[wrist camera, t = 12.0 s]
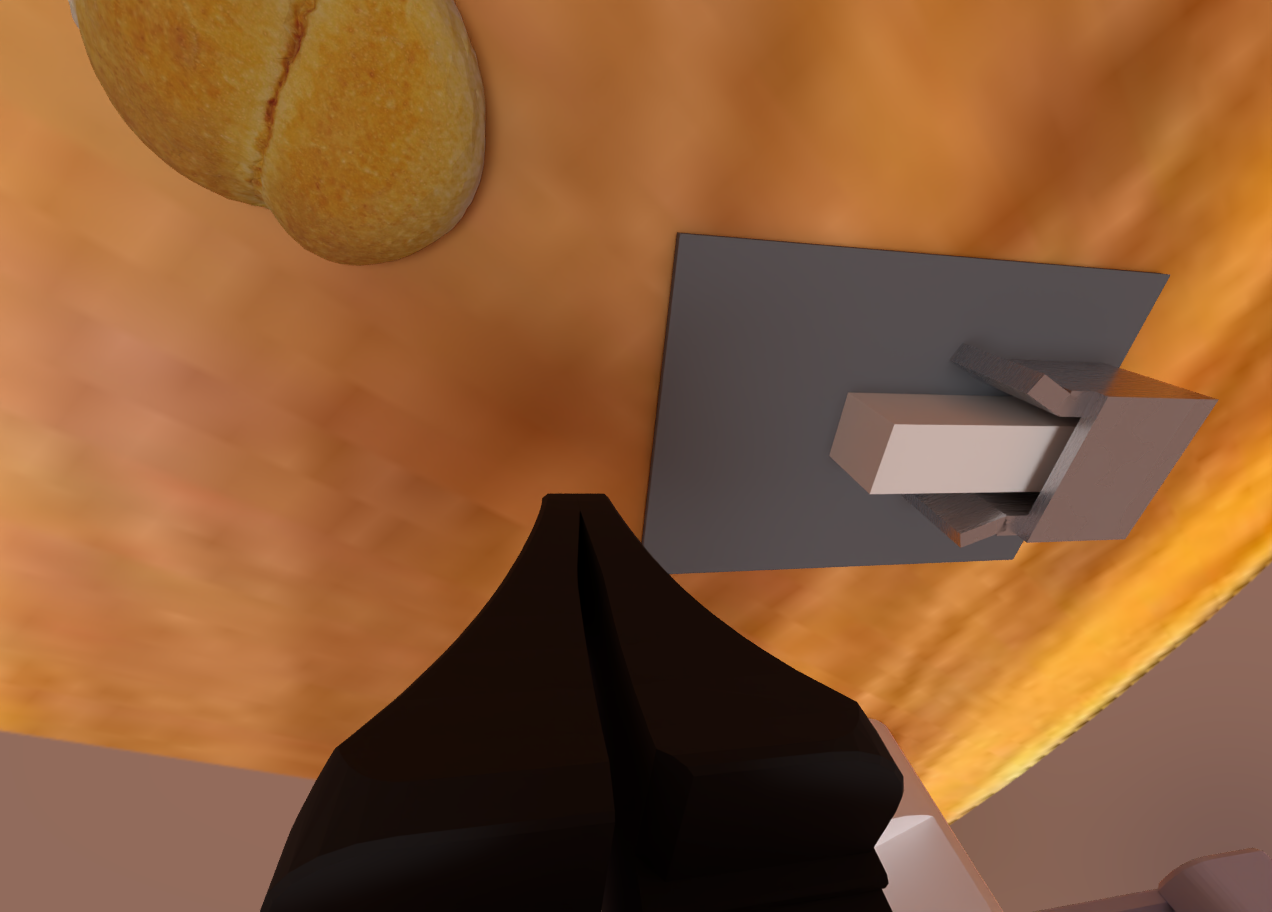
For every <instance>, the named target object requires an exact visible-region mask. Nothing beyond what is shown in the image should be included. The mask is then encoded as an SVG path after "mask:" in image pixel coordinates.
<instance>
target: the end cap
mask: <svg viewBox="0 0 1272 912" xmlns="http://www.w3.org/2000/svg"><path fill="white" fill-rule="evenodd" d="M950 361H952V362H953V363H955V364H956V365H957V366H959V367H960V368H962V369H963V370H965V371H966V372H967V373H969V374H970V375H972V376H973V377H974V378H976V379H977V380H979V381H981V382H983V383H986V384H988V385H990V386H992V387H994V388H997V389H999V390H1001V391H1003V392H1005V393H1008V394H1010V395H1012V396H1014V397H1016V398H1019V399H1021V400H1023V401H1025V402H1027V403H1030V404H1032V405H1034V406H1036V407H1039V408H1041V409H1043V410H1045V411H1047V412H1050V413H1052V414H1054V415H1056V416H1058V417H1081V418H1080V420H1079V422H1078V424H1077V425H1076V427H1075V429H1074V431H1073V433H1072V435H1071V437H1070V438H1069V440H1068V442H1067V444H1066V446H1065V448H1064V449H1063V451H1062V453H1061V455H1060V457H1059V459H1058V460H1057V462H1056V464H1055V466H1054V468H1053V470H1052V472H1051V473H1050V475H1049V477H1048V479H1047V481H1046V483H1045V484H1044V486H1043V488H1042V490H1041V492H981V493H918V494H902V497H903V498H904V499H905V500H906V501H908V502H909V503H910V504H911V505H912V506H913V507H914V508H916V509H917V510H918V511H919V512H920V513H921V514H922V515H924V516H925V517H926V518H927V519H928V520H929V521H930V522H932V523H933V524H934V525H935V526H936V527H937V528H938V529H940V530H941V531H942V532H943V533H944V534H945V535H946V536H948V537H949V538H950V539H951V540H952V541H953V542H954V543H956V544H957V545H958V546H959V547H960V548H962V547H964V546H967V545H969V544H972V543H975V542H977V541H980V540H982V539H985V538H988V537H990V536H993V535H996V536H1006V535H1017V536H1019V537H1020V538H1021V539H1023V540H1024V541H1026V542H1027V543H1029V542H1057V541H1085V540H1113V539H1126V537H1127V536H1128V534H1129V533H1130V531H1131V530H1132V528H1133V527H1134V525H1135V524H1136V522H1137V521H1138V519H1139V518H1140V516H1141V515H1142V513H1143V512H1144V510H1145V509H1146V507H1147V506H1148V504H1149V503H1150V501H1151V500H1152V498H1153V497H1154V495H1155V494H1156V492H1157V491H1158V489H1159V488H1160V486H1161V485H1162V483H1163V482H1164V480H1165V479H1166V477H1167V476H1168V474H1169V473H1170V471H1171V470H1172V468H1173V467H1174V465H1175V464H1176V462H1177V461H1178V459H1179V458H1180V456H1181V455H1182V453H1183V452H1184V451H1185V449H1186V448H1187V446H1188V445H1189V443H1190V442H1191V440H1192V439H1193V437H1194V436H1195V434H1196V433H1197V431H1198V430H1199V428H1200V427H1201V425H1202V424H1203V422H1204V421H1205V419H1206V418H1207V416H1208V415H1209V413H1210V412H1211V410H1212V409H1213V407H1214V406H1215V404H1216V403H1217V401H1218V399H1215V398H1212V397H1208V396H1205V395H1202V394H1199V393H1196V392H1193V391H1190V390H1187V389H1184V388H1180V387H1177V386H1174V385H1171V384H1168V383H1165V382H1162V381H1159V380H1155V379H1152V378H1149V377H1146V376H1143V375H1140V374H1137V373H1134V372H1130V371H1127V370H1124V369H1121V368H1118V367H1115V366H1112V365H1109V364H1105V363H1096V362H1073V361H1049V360H1026V359H1003V358H1001V357H998V356H996V355H993V354H990V353H988V352H985V351H982V350H980V349H977V348H975V347H972V346H969V345H967V344H964V343H963V344H962V345H961V346H960V348H959V349H958V350H957V351H956V352H955V354H954V355H953V356H952V357H951V359H950Z"/></svg>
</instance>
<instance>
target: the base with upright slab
mask: <svg viewBox="0 0 1272 912" xmlns="http://www.w3.org/2000/svg"><path fill="white" fill-rule="evenodd" d="M868 719H869V720H870V722H871V723H872V725H873V726H874V728H875V729H876V730H877V732H878V734H879V736H880V737H881V739H882V741H883V742H884V744H885V746H886V748H887V749H888V751H889V753H890V755H891V756H892V758H893V760H894V761H895V763H896V765H897V766H898V768H899V770H900V771H901V773H902V775H903V776H904V792H903V796H902V799H901V801H900V804H899V806H898V808H897V811H896V813H895V814H894V816H893V818H892V819H891V821H890V822H889V824H888V826H887V827H886V829H885V830H884V832H883V834H882V835H881V837H880V839H879V840H878V842H877V843H876V845H875V847H874V849H875V851H876V853H877V855H878V857H879V859H880V861H881V863H882V865H883V867H884V869H885V871H886V873H887V876H888V882H889V884H888V885H887V887H886V888H884V889H882V890H883V892H884V895H885V897H886V899H887V901H888V903H889V905H890V907H891V909H892V911H893V912H1003V910H1002V909H1001V907H1000V905H999V904H998V902H997V901H996V899H995V898H994V896H993V894H992V893H991V891H990V890H989V888H988V887H987V885H986V883H985V882H984V880H983V879H982V877H981V875H980V874H979V872H978V871H977V869H976V867H975V866H974V865H973V863H972V861H971V860H970V858H969V856H968V855H967V853H966V852H965V850H964V849H963V847H962V845H961V844H960V842H959V840H958V839H957V837H956V836H955V834H954V833H953V831H952V829H951V828H950V826H949V825H948V823H947V821H946V820H945V818H944V817H943V815H942V814H941V812H940V810H939V809H938V807H937V806H936V804H935V802H934V801H933V799H932V798H931V796H930V794H929V793H928V791H927V790H926V788H925V787H924V785H923V783H922V782H921V780H920V779H919V777H918V775H917V774H916V772H915V771H914V769H913V768H912V766H911V764H910V763H909V761H908V760H907V758H906V756H905V755H904V753H903V752H902V750H901V749H900V747H899V745H898V744H897V742H896V741H895V739H894V737H893V736H892V734H891V733H890V731H889V729H888V728H887V726H886V725H884V724H883V723H881V722H879V721H878V720H875V719H870V718H868Z"/></svg>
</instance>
